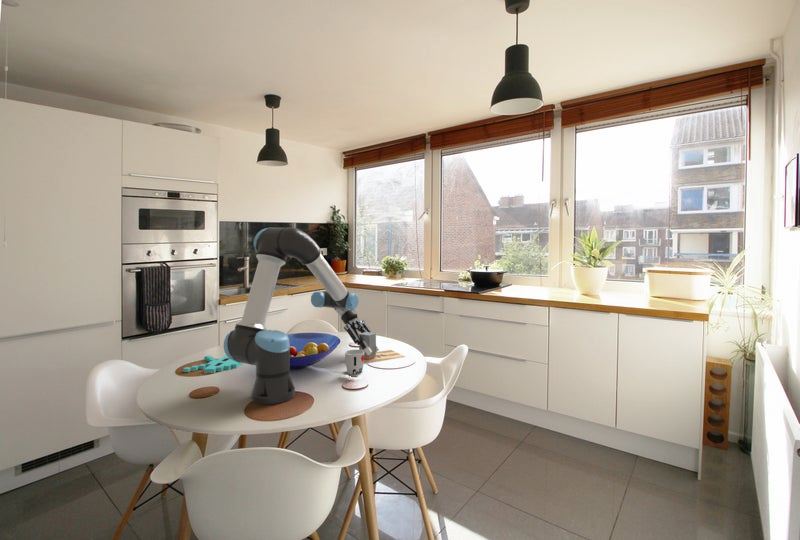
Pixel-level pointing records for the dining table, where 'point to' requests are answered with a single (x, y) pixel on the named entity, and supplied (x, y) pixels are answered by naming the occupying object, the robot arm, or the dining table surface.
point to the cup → (354, 361)
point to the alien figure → (215, 364)
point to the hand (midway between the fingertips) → (373, 352)
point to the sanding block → (369, 343)
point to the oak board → (383, 356)
